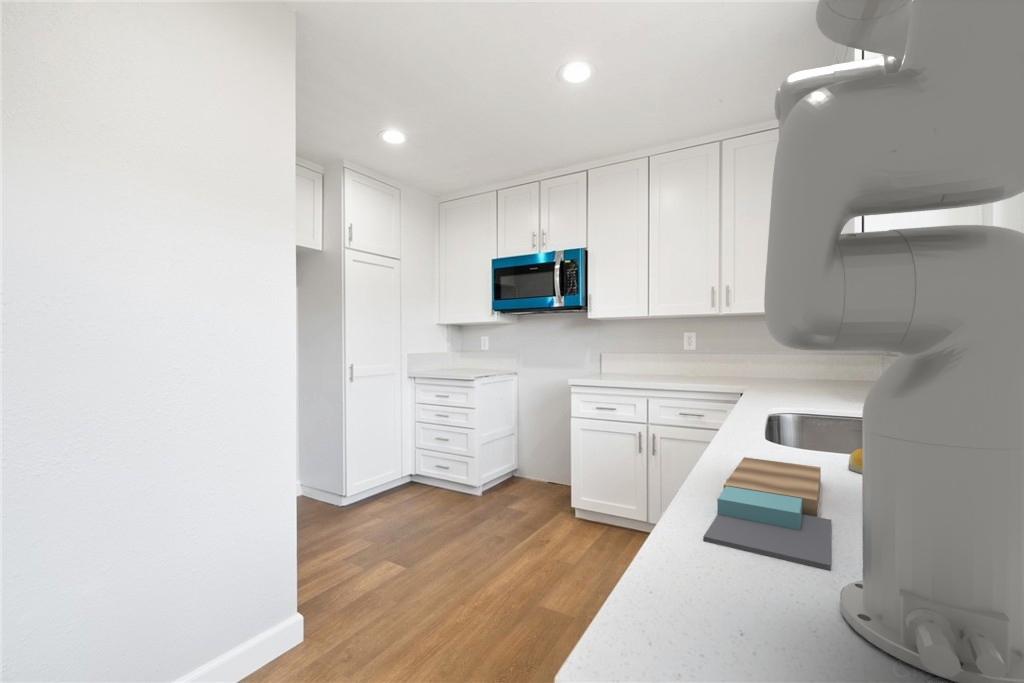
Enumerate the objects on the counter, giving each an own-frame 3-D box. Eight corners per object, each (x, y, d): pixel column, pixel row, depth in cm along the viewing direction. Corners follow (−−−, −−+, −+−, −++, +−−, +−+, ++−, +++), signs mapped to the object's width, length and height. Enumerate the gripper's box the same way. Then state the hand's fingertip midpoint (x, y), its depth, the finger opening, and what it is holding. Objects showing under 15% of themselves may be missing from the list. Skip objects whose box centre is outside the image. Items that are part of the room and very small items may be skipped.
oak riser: (817, 519, 59) (817, 499, 59) (723, 502, 65) (723, 484, 65) (820, 482, 73) (820, 467, 73) (744, 471, 80) (744, 457, 80)
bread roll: (917, 484, 73) (917, 459, 73) (847, 474, 79) (847, 450, 79) (913, 472, 80) (913, 448, 80) (849, 463, 85) (849, 441, 85)
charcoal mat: (830, 570, 46) (830, 565, 46) (703, 540, 53) (703, 536, 53) (831, 523, 57) (831, 519, 57) (726, 504, 64) (726, 500, 64)
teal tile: (799, 530, 54) (799, 513, 54) (717, 514, 59) (717, 498, 59) (802, 514, 59) (802, 498, 59) (726, 500, 64) (725, 486, 64)
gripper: (837, 158, 62) (837, 294, 63) (836, 187, 75) (837, 300, 75) (773, 170, 67) (774, 297, 67) (783, 196, 79) (783, 303, 79)
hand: (807, 298), depth 71 cm, fingers closed
